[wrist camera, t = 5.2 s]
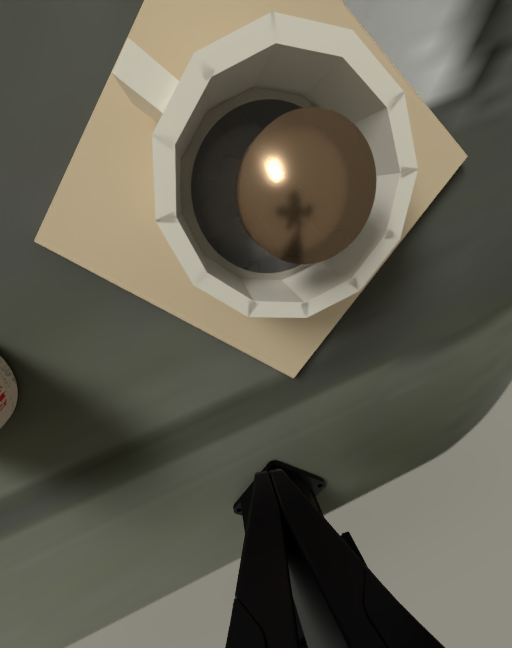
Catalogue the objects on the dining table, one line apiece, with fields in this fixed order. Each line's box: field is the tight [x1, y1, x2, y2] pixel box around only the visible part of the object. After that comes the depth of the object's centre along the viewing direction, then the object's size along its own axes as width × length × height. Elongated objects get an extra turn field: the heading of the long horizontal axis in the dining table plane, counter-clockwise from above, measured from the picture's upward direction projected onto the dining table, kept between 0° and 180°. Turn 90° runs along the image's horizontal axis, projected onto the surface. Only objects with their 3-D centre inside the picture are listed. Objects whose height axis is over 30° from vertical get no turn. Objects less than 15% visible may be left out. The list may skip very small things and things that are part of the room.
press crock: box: [34, 0, 467, 378], centre depth 15 cm, size 18×18×6 cm
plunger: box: [191, 99, 377, 273], centre depth 13 cm, size 8×8×6 cm
